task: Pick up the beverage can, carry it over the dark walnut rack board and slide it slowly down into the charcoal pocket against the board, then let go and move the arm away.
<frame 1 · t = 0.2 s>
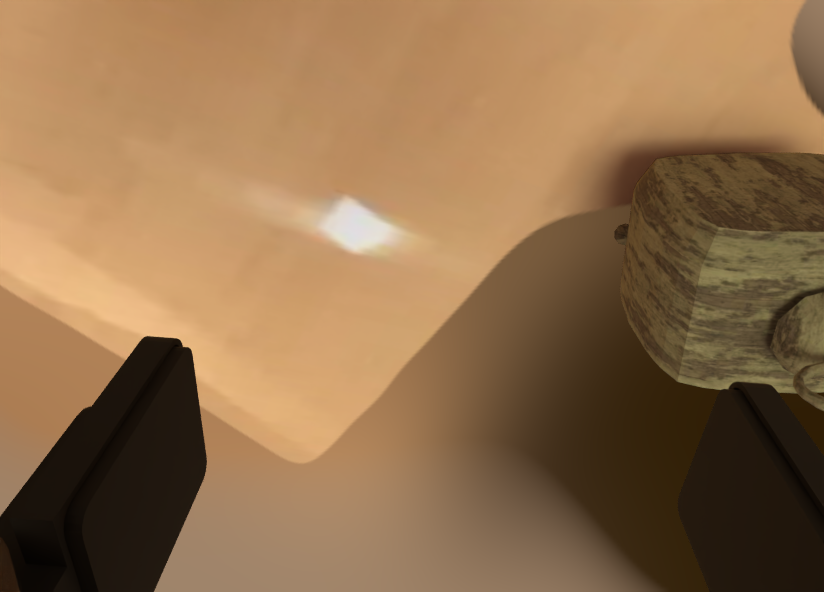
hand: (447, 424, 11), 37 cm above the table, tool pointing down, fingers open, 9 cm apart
tabletop clock: (698, 193, 48), on the table
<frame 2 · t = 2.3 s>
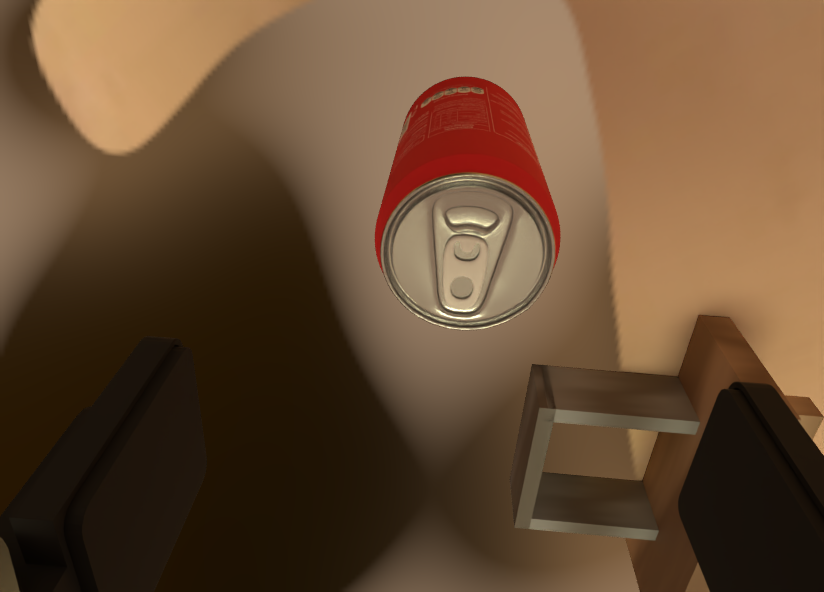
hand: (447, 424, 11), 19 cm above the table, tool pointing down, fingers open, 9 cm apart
beverage can: (463, 132, 28), on the table
can rack: (595, 431, 35), on the table
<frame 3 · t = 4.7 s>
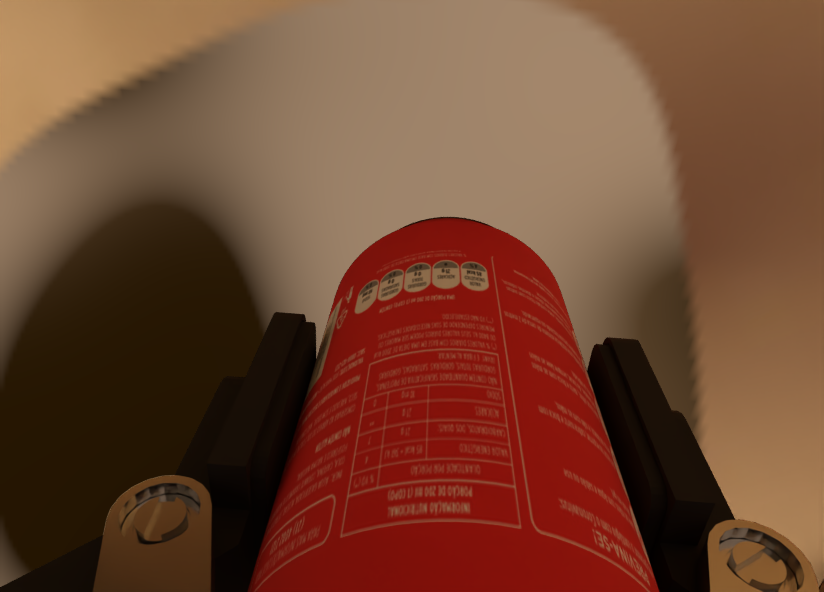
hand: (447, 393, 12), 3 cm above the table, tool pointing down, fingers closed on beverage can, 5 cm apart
beverage can: (447, 297, 15), on the table, touching gripper
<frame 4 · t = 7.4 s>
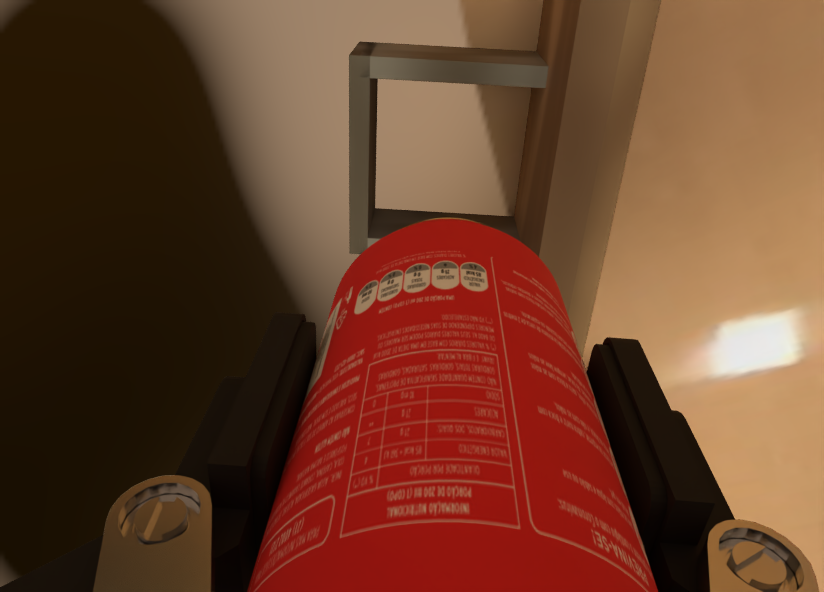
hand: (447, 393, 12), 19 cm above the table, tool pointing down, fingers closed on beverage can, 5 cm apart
beverage can: (446, 298, 15), point 16 cm above the table, touching gripper
can rack: (449, 143, 29), on the table
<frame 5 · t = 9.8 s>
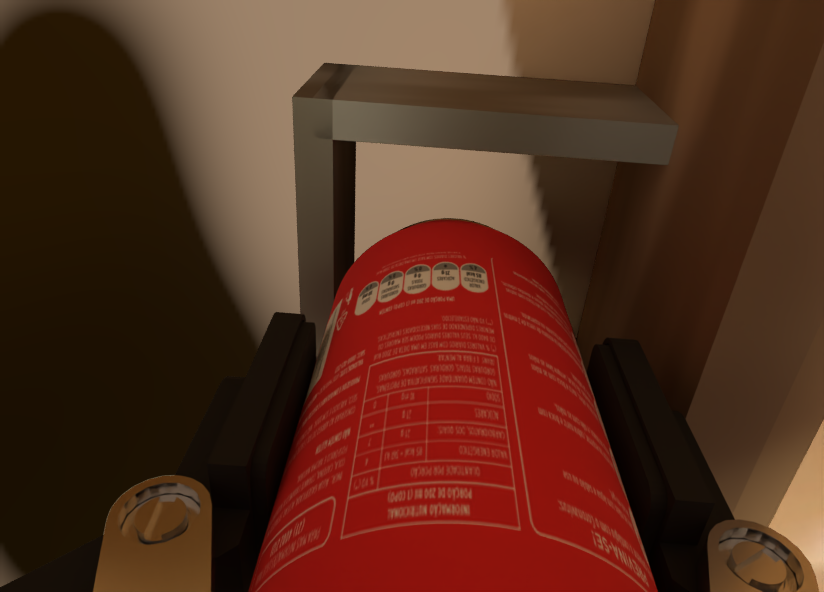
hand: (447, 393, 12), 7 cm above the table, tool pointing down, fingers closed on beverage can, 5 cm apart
beverage can: (446, 298, 15), point 3 cm above the table, touching gripper
can rack: (476, 232, 18), on the table
when the fingers open (7 cm above the table, at t = 10.6 s): beverage can drops 3 cm, resting in can rack.
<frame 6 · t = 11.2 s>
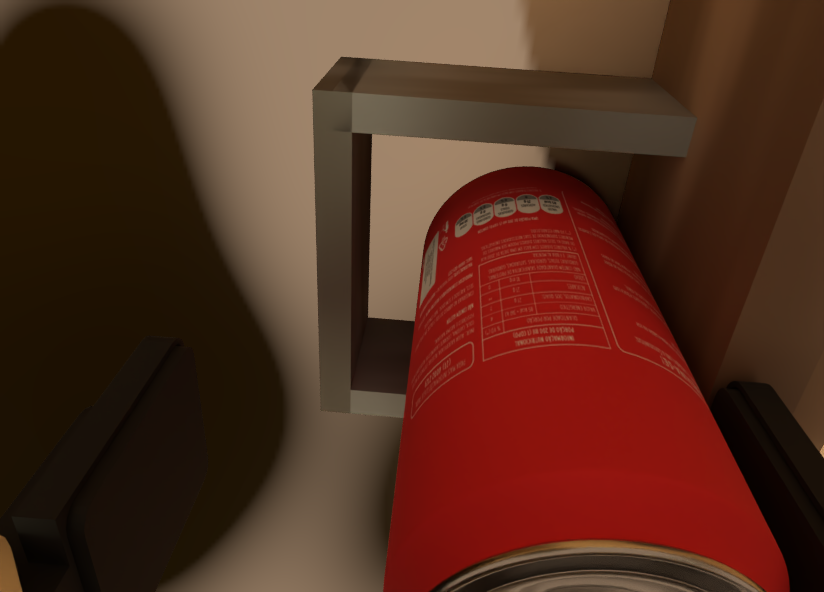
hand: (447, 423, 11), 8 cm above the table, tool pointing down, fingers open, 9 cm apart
beverage can: (516, 238, 18), resting in can rack
can rack: (491, 225, 18), on the table
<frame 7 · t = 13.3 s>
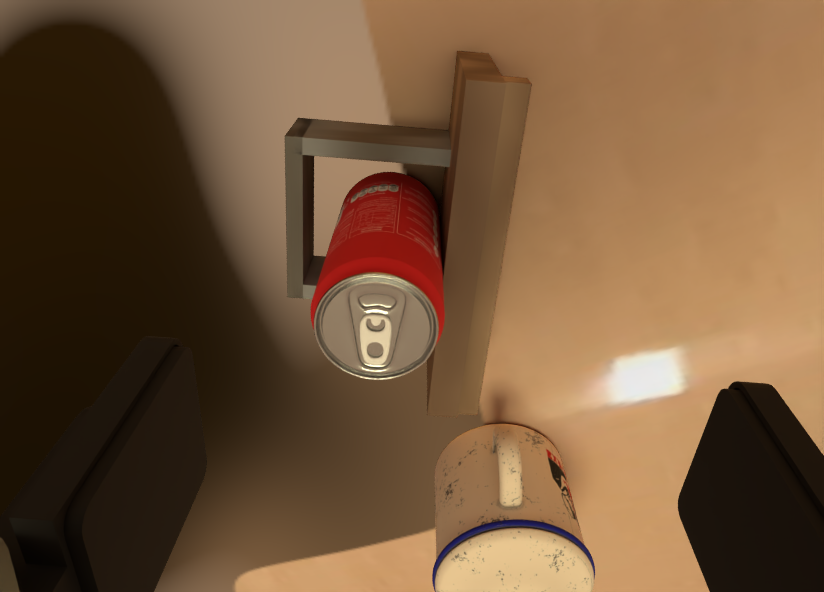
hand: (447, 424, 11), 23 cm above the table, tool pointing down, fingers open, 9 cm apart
beverage can: (391, 210, 34), resting in can rack
teacup with lid: (497, 451, 43), on the table
can rack: (377, 203, 34), on the table
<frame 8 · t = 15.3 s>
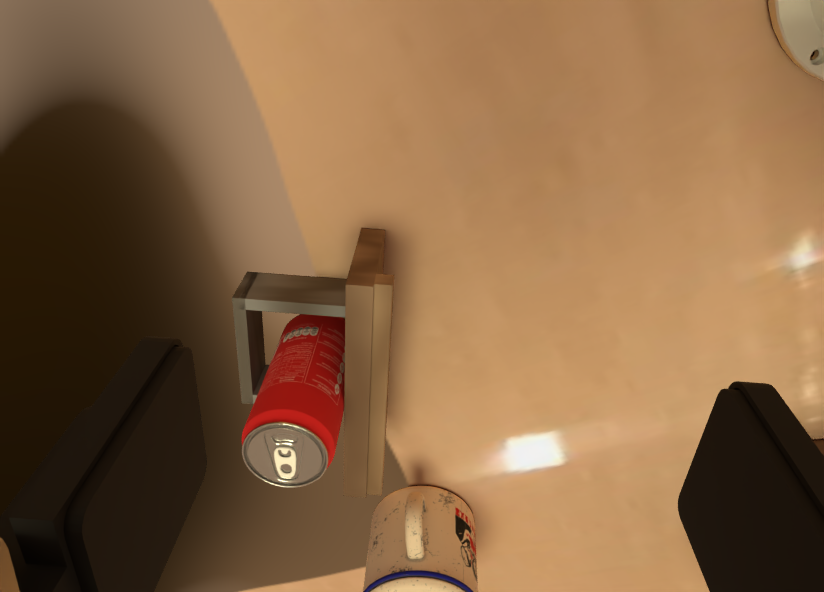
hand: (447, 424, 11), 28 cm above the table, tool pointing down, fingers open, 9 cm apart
beverage can: (322, 333, 45), resting in can rack
teacup with lid: (422, 505, 53), on the table
can rack: (310, 329, 44), on the table
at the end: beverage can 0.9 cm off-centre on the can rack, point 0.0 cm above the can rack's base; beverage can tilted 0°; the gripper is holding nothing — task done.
